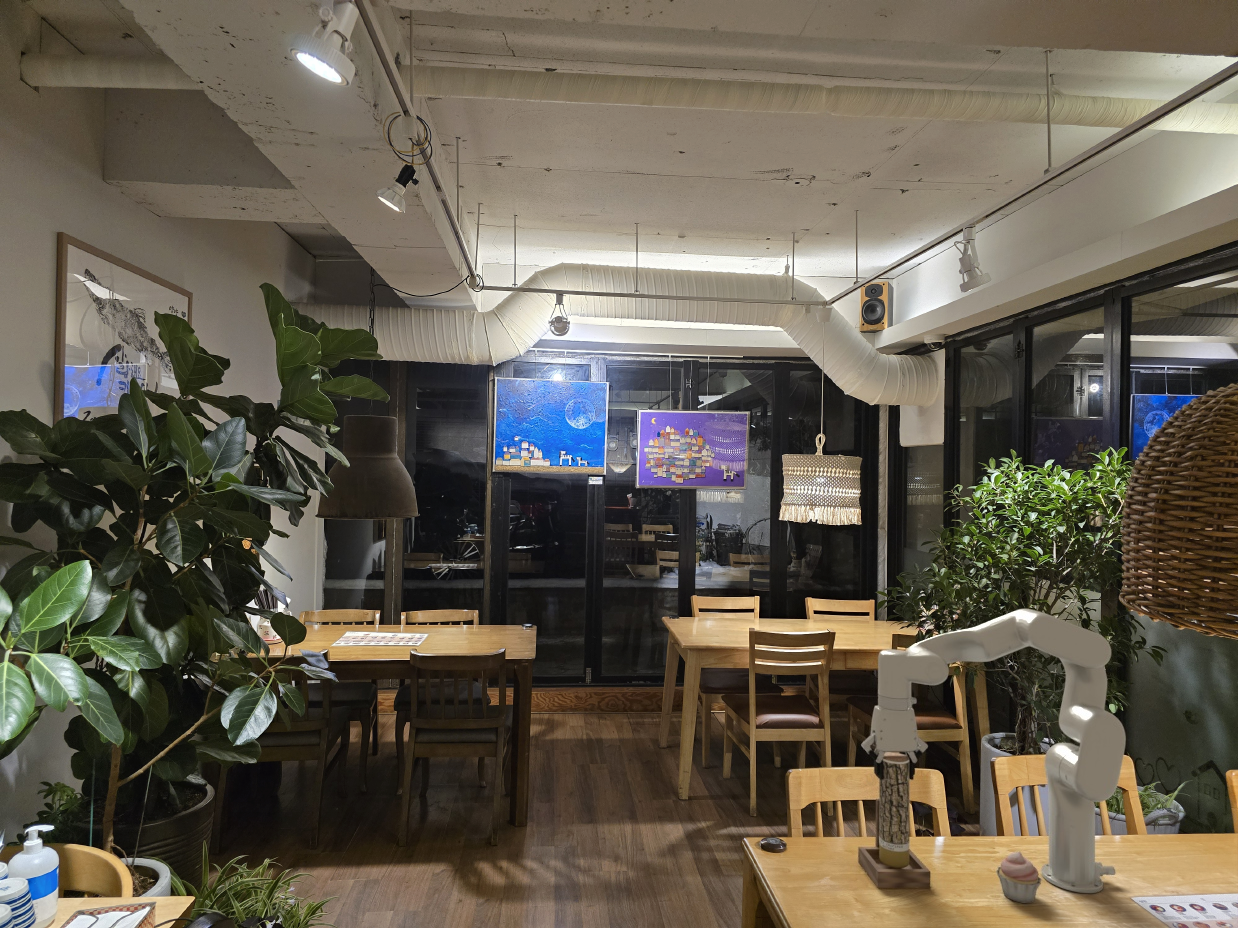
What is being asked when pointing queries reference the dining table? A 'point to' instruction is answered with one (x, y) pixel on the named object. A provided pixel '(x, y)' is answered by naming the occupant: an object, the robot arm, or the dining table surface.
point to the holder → (888, 876)
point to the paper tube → (894, 811)
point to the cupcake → (1018, 878)
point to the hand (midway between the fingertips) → (894, 776)
